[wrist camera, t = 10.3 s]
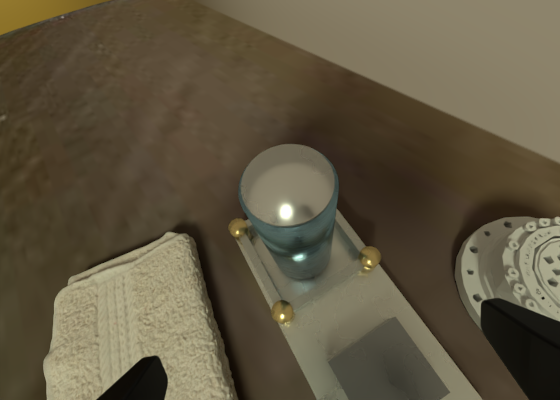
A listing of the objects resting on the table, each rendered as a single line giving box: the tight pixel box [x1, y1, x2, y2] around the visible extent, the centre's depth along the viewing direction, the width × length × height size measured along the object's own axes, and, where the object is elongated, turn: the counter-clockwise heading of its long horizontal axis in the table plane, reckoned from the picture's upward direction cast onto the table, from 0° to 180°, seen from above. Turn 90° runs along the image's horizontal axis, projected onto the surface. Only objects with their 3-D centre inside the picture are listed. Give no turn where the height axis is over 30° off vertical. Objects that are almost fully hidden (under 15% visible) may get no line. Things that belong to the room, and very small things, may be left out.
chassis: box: [228, 208, 482, 400], centre depth 19 cm, size 8×18×3 cm, turn 29°
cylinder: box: [238, 144, 339, 279], centre depth 17 cm, size 5×5×10 cm
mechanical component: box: [455, 216, 560, 330], centre depth 17 cm, size 10×4×10 cm
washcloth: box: [43, 232, 238, 400], centre depth 19 cm, size 12×18×3 cm, turn 24°
